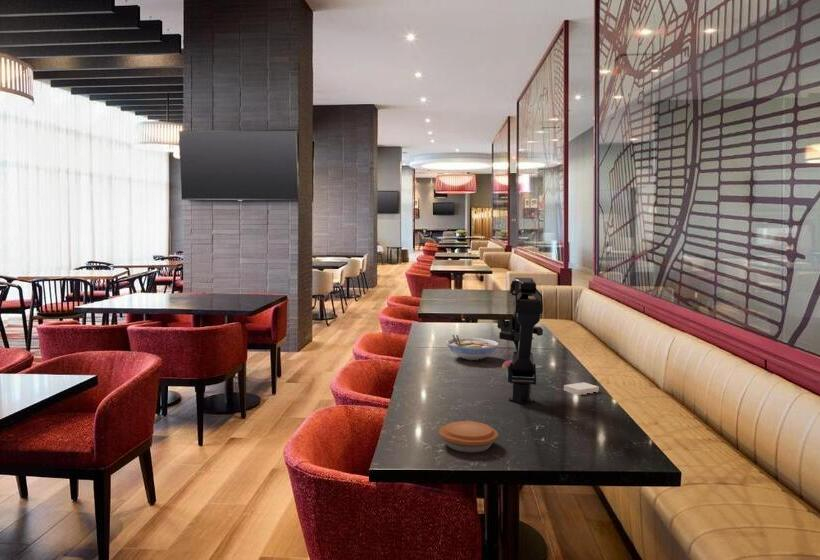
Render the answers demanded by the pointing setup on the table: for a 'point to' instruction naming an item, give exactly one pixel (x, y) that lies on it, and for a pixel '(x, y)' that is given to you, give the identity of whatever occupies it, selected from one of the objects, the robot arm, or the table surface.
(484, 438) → the pie
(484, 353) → the ramen bowl
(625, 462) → the table surface
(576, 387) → the tile
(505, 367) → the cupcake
